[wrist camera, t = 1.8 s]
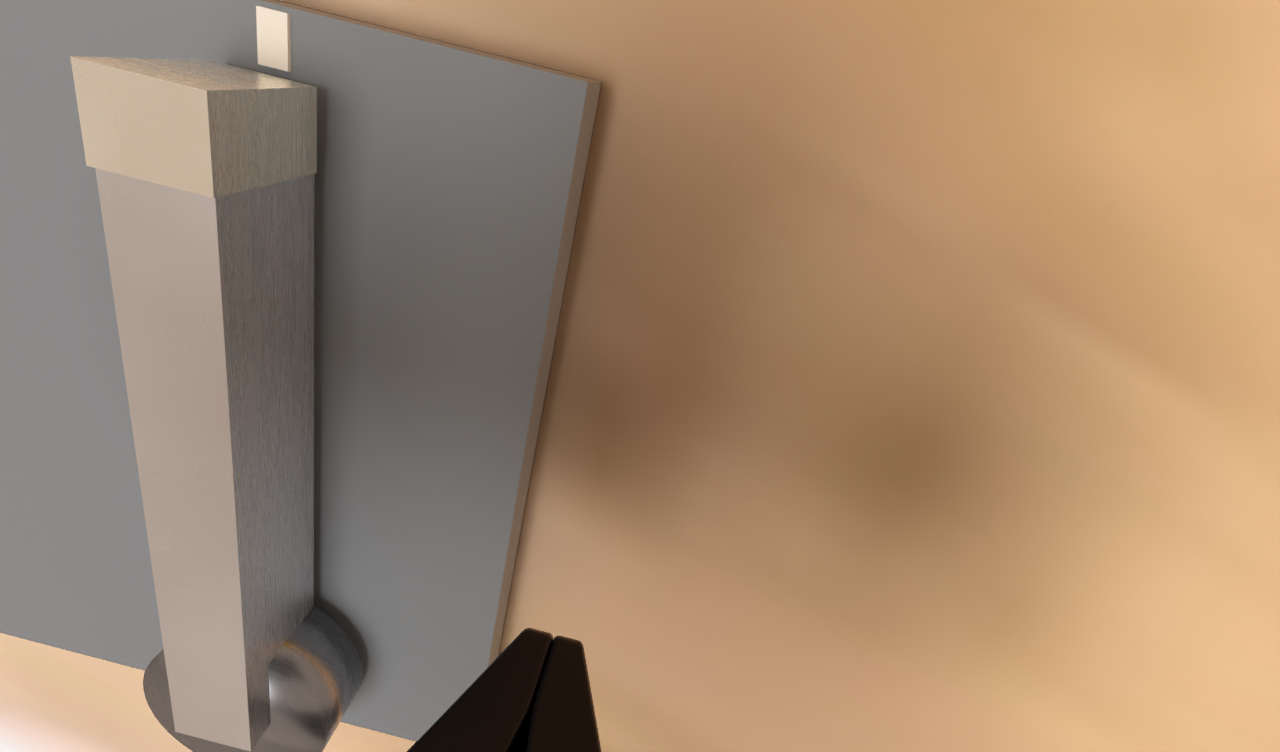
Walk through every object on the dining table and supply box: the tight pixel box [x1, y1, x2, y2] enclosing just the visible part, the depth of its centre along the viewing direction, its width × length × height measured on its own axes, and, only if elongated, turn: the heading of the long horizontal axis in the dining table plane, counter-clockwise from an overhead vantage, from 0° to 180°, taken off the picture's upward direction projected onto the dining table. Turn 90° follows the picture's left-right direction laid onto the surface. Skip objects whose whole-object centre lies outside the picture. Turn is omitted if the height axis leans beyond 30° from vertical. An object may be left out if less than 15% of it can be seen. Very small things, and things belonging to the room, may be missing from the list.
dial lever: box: [70, 56, 363, 752], centre depth 15 cm, size 18×5×3 cm, turn 167°
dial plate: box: [0, 0, 602, 742], centre depth 17 cm, size 20×20×2 cm
